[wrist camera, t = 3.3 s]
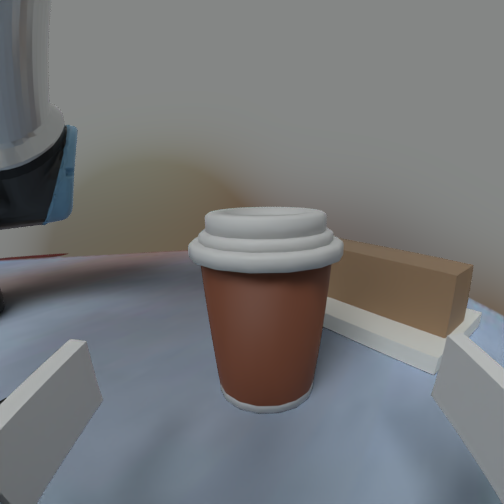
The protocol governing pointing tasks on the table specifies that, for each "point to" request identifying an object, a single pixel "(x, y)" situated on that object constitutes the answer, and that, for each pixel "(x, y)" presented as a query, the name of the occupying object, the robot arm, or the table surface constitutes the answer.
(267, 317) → the coffee cup
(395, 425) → the table surface
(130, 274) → the table surface
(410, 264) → the stand
